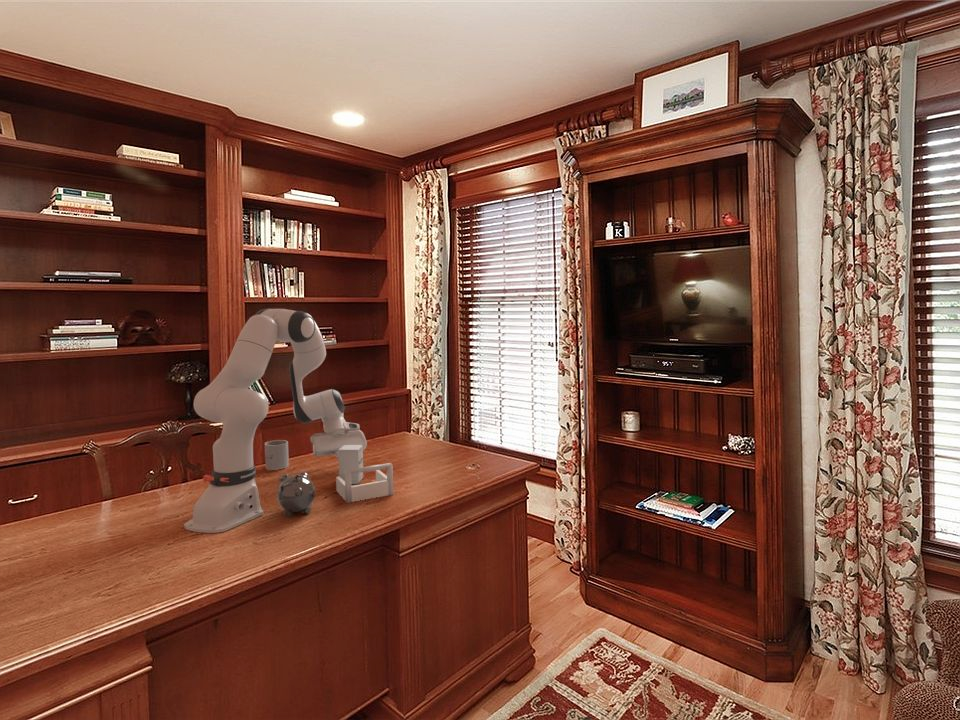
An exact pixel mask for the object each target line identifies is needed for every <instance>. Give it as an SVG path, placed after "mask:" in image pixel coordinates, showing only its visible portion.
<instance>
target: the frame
mask: <svg viewBox="0 0 960 720" xmlns="http://www.w3.org/2000/svg"><path fill="white" fill-rule="evenodd" d="M393 468H394V467H393V463H392V462H389V463H388V462H387V463H383V464H374V465H369V466H363V467H361V468H355V469H349V470H347V471H346V472H345V481H344V480H343V479H342V478H341V477H340V476H339V475H338V476H335V482H336V483H335V487H336V488H335V489H336V492H337V493H338V494H339V496H340V497H341V496H342V497H343V498H342V497H341V498H342V499H343V500H344V501H345V503H346V504H352V503H355V501H356V502H360V500H361V501H365V499H366V500H370V499H371V498H372V499H377V498H381V497H388V496H393V495H394V469H393ZM381 470H386V474H385V473H384V472H382V471H381ZM373 471H375V481H373V482H372V481H371V482H367V483H361V484H360V483H359V484H354V485H353V484H351V474H355V473H361V472H363V473H367V472H373ZM376 497H377V498H376ZM372 499H371V500H372ZM351 502H352V503H351Z"/></svg>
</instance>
